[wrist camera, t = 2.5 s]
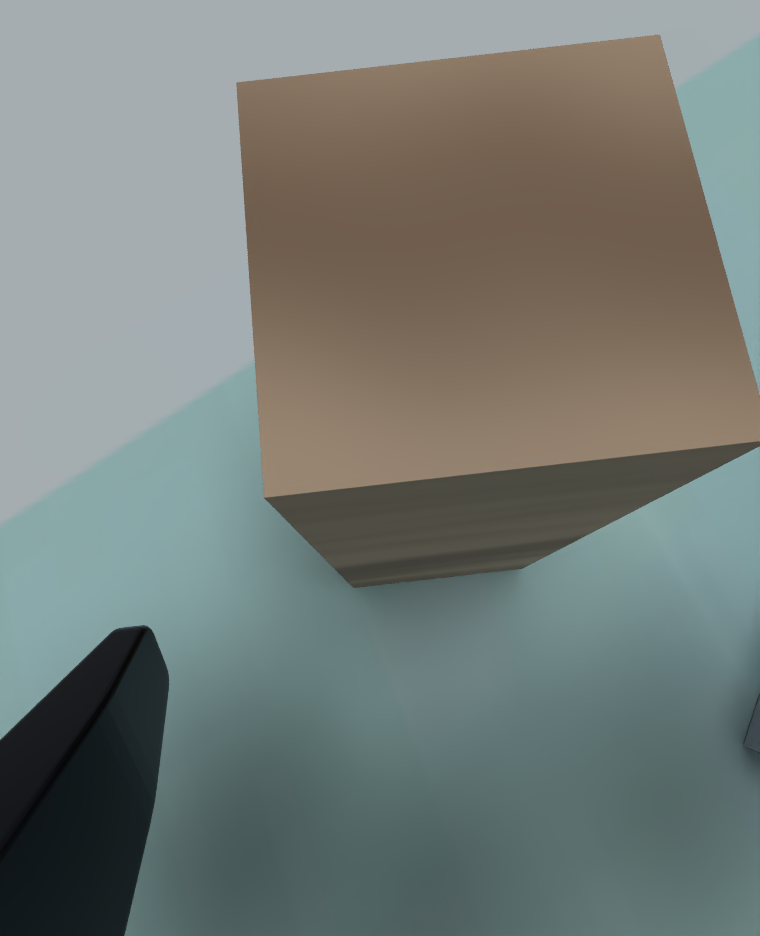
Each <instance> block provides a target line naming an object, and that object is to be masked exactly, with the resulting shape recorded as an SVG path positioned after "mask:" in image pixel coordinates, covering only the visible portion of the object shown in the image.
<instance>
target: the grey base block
mask: <svg viewBox="0 0 760 936" xmlns="http://www.w3.org/2000/svg"><path fill="white" fill-rule="evenodd" d="M744 746H746V747H748V748H750V749H752V750H754V751H756V752H758V753H760V695H759V699H758V702H757V705H756V708H755V711H754V714H753V717H752V720H751V723H750V726H749V730H748V733H747V736H746V739H745V742H744Z"/></svg>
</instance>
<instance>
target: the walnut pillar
mask: <svg viewBox="0 0 760 936" xmlns="http://www.w3.org/2000/svg"><path fill="white" fill-rule="evenodd" d="M237 99H238V113H239V129H240V144H241V159H242V173H243V189H244V202H245V203H244V204H245V218H246V234H247V249H248V263H249V279H250V294H251V309H252V324H253V338H254V354H255V369H256V384H257V399H258V414H259V429H260V444H261V459H262V474H263V489H264V498H265V499H266V500H267V501H268V502H269V503H270V504H271V505H272V506H273V507H274V508H275V509H276V510H277V511H278V512H279V513H280V514H281V515H282V516H283V517H284V518H285V519H286V520H287V521H288V522H289V523H290V524H291V525H292V526H293V527H294V528H295V529H296V530H297V531H298V532H299V533H300V534H301V535H302V536H303V537H304V538H305V539H306V540H307V541H308V543H309V544H310V545H311V546H312V547H313V548H314V549H315V550H316V551H317V552H318V553H319V554H320V555H321V556H322V557H323V558H324V559H325V560H326V561H327V562H328V563H329V564H330V565H331V566H332V567H333V568H334V569H335V570H336V571H337V572H338V573H339V574H340V575H341V576H342V577H343V578H344V579H345V580H346V581H347V582H348V583H349V584H350V585H351V586H352V587H353V588H356V587H365V586H373V585H382V584H391V583H400V582H408V581H417V580H426V579H435V578H443V577H452V576H461V575H470V574H478V573H487V572H496V571H505V570H513V569H522V568H524V567H526V566H528V565H530V564H532V563H534V562H536V561H538V560H540V559H542V558H544V557H545V556H547V555H549V554H551V553H553V552H555V551H557V550H559V549H561V548H563V547H565V546H567V545H569V544H571V543H573V542H575V541H577V540H578V539H580V538H582V537H584V536H586V535H588V534H590V533H592V532H594V531H596V530H598V529H600V528H602V527H604V526H606V525H608V524H609V523H611V522H613V521H615V520H617V519H619V518H621V517H623V516H625V515H627V514H629V513H631V512H633V511H635V510H637V509H639V508H641V507H642V506H644V505H646V504H648V503H650V502H652V501H654V500H656V499H658V498H660V497H662V496H664V495H666V494H668V493H670V492H672V491H674V490H675V489H677V488H679V487H681V486H683V485H685V484H687V483H689V482H691V481H693V480H695V479H697V478H699V477H701V476H703V475H705V474H706V473H708V472H710V471H712V470H714V469H716V468H718V467H720V466H722V465H724V464H726V463H728V462H730V461H732V460H734V459H736V458H738V457H739V456H741V455H743V454H745V453H747V452H749V451H751V450H753V449H755V448H757V447H759V446H760V395H759V391H758V388H757V384H756V381H755V377H754V373H753V370H752V366H751V362H750V359H749V355H748V352H747V348H746V344H745V341H744V337H743V334H742V330H741V326H740V323H739V319H738V315H737V312H736V308H735V305H734V301H733V297H732V294H731V290H730V287H729V283H728V279H727V276H726V272H725V269H724V265H723V261H722V258H721V254H720V250H719V247H718V243H717V240H716V236H715V232H714V229H713V225H712V222H711V218H710V214H709V211H708V207H707V204H706V200H705V196H704V193H703V189H702V185H701V182H700V178H699V175H698V171H697V167H696V164H695V160H694V157H693V153H692V149H691V146H690V142H689V138H688V135H687V131H686V128H685V124H684V120H683V117H682V113H681V110H680V106H679V102H678V99H677V95H676V92H675V88H674V84H673V81H672V77H671V74H670V70H669V66H668V63H667V59H666V56H665V52H664V48H663V45H662V41H661V37H660V35H653V36H645V37H636V38H627V39H618V40H609V41H600V42H591V43H583V44H573V45H565V46H556V47H547V48H539V49H529V50H521V51H512V52H503V53H494V54H485V55H477V56H468V57H459V58H450V59H441V60H432V61H423V62H415V63H406V64H398V65H389V66H379V67H370V68H362V69H353V70H345V71H335V72H327V73H317V74H309V75H300V76H291V77H283V78H273V79H265V80H256V81H247V82H239V83H237Z"/></svg>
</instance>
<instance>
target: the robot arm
mask: <svg viewBox="0 0 760 936" xmlns="http://www.w3.org/2000/svg"><path fill="white" fill-rule="evenodd" d="M168 691H169V675H168V670H167V667H166V664H165V661H164V659H163V656H162V654H161V651H160V648H159V646H158V643H157V641H156V638H155V636H154V633H153V631H152V630H151V629H150V628H149V627H148V626H145V625H141V626H132V627H124V628H119V629H116V630H114V631H113V632H111V633H110V634H109V635H108V636H107V637H106V638H105V639H104V640H103V641H102V642H101V643H100V644H99V645H98V646H97V647H96V648H95V649H94V650H93V651H92V652H91V653H90V654H89V655H87V656H86V657H85V658H84V659H83V660H82V661H81V662H80V663H79V664H78V665H77V666H76V667H75V668H74V669H73V670H72V671H71V672H70V673H69V674H68V675H67V676H66V677H65V678H64V679H63V680H62V681H61V682H60V683H59V684H58V685H56V686H55V687H54V688H53V689H52V690H51V691H50V692H49V693H48V694H47V695H46V696H45V697H44V698H43V699H42V700H41V701H40V702H39V703H38V704H37V705H36V706H35V707H34V708H33V709H32V710H31V711H30V712H29V713H28V714H27V715H26V716H24V717H23V718H22V719H21V720H20V721H19V722H18V723H17V724H16V725H15V726H14V727H13V728H12V729H11V730H10V731H9V732H8V733H7V734H6V735H5V736H4V737H3V738H2V739H1V740H0V936H124V935H125V930H126V926H127V922H128V917H129V913H130V909H131V905H132V900H133V896H134V892H135V887H136V883H137V879H138V874H139V870H140V866H141V862H142V857H143V853H144V849H145V844H146V840H147V836H148V832H149V827H150V823H151V818H152V813H153V808H154V803H155V796H156V789H157V782H158V774H159V765H160V757H161V749H162V740H163V732H164V724H165V716H166V707H167V699H168Z"/></svg>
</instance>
